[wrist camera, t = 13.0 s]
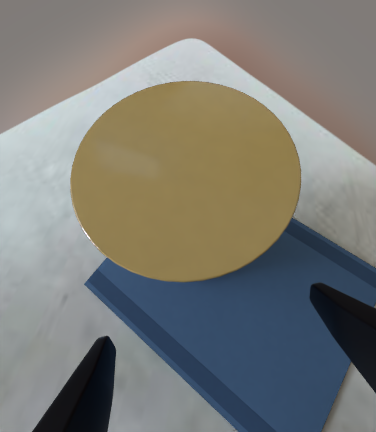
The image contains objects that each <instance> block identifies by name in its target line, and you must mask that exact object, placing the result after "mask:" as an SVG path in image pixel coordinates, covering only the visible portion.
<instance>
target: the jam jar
mask: <svg viewBox="0 0 376 432" xmlns="http://www.w3.org/2000/svg"><path fill="white" fill-rule="evenodd" d="M300 188H301V168H300V161H299V156H298V153H297V150H296V147H295V144H294V142H293V140H292V138H291V136H290V134H289V133H288V131H287V130H286V128H285V127H284V125H283V124H282V122H281V121H280V120H279V119H278V118H277V117H276V116H275V115H274V114H273V113H272V112H271V111H270V110H269V109H268V108H267V107H265V106H264V105H263V104H261V103H260V102H259V101H257V100H256V99H254V98H252V97H250V96H249V95H247V94H245V93H243V92H240V91H238V90H235V89H233V88H230V87H227V86H223V85H220V84H214V83H209V82H199V81H180V82H170V83H165V84H160V85H156V86H152V87H149V88H146V89H143V90H141V91H138V92H136V93H134V94H132V95H130V96H128V97H126V98H124V99H122V100H121V101H119V102H118V103H116V104H115V105H113V106H112V107H111V108H110V109H108V110H107V111H106V112H105V113H103V114H102V115H101V117H100V118H99V119H98V120H97V121H96V122H95V123H94V124H93V125H92V127H91V128H90V129H89V130H88V132H87V133H86V135H85V137H84V138H83V140H82V141H81V143H80V146H79V148H78V150H77V152H76V155H75V159H74V162H73V165H72V172H71V198H72V204H73V208H74V211H75V214H76V217H77V219H78V221H79V223H80V225H81V227H82V229H83V231H84V233H85V234H86V235H87V237H88V238H89V240H90V241H91V242H92V244H93V245H94V246H95V247H96V248H97V249H98V250H99V251H100V252H101V253H102V254H103V255H105V256H106V257H107V258H109V259H110V260H111V261H113V262H114V263H116V264H117V265H119V266H121V267H123V268H125V269H127V270H128V271H130V272H133V273H135V274H138V275H141V276H144V277H147V278H151V279H156V280H161V281H167V282H183V283H189V282H201V281H205V280H210V279H214V278H218V277H221V276H224V275H226V274H229V273H232V272H234V271H237V270H239V269H241V268H242V267H244V266H246V265H248V264H250V263H251V262H253V261H254V260H256V259H257V258H258V257H260V256H261V255H262V254H264V253H265V252H266V251H267V250H268V249H269V248H270V247H271V246H272V245H273V244H274V243H275V242H276V241H277V240H278V239H279V238H280V236H281V235H282V233H283V232H284V231H285V229H286V228H287V226H288V224H289V222H290V221H291V219H292V217H293V215H294V212H295V209H296V206H297V203H298V200H299V194H300Z"/></svg>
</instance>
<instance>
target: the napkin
mask: <svg viewBox="0 0 376 432" xmlns="http://www.w3.org/2000/svg"><path fill="white" fill-rule="evenodd" d="M318 282H321V283H324V284H326V285H328V286H330V287H332V288H334V289H336V290H338V291H340V292H343V293H345V294H347V295H349V296H351V297H353V298H355V299H357V300H359V301H361V302H363V303H365V304H367V305H369V306H371V307H373V308H374V306H375V304H376V268H375V267H373V266H371V265H370V264H368V263H366V262H365V261H363V260H361V259H360V258H358V257H356V256H355V255H353V254H352V253H350V252H348V251H347V250H345V249H343V248H342V247H340V246H338V245H337V244H335V243H333V242H332V241H330V240H328V239H327V238H325V237H323V236H322V235H320V234H318V233H317V232H315V231H314V230H312V229H310V228H309V227H307V226H305V225H304V224H302V223H300V222H299V221H297V220H295V219H294V218H292V219H291V221H290V222H289V224H288V226H287V228H286V229H285V231H284V232H283V233H282V235H281V236H280V238H279V239H278V240H277V241H276V242H275V243H274V244H273V245H272V246H271V247H270V248H269V249H268V250H267V251H266V252H265V253H264V254H262V255H261V256H260V257H258V258H257V259H256V260H254V261H253V262H251V263H250V264H248V265H246V266H244V267H242V268H241V269H239V270H237V271H234V272H232V273H229V274H226V275H224V276H221V277H218V278H214V279H210V280H205V281H201V282H189V283H183V282H167V281H161V280H156V279H151V278H147V277H144V276H141V275H138V274H135V273H133V272H130V271H128V270H127V269H125V268H123V267H121V266H119V265H117V264H116V263H114V262H113V261H111V260H110V259H109V258H106V259H105V261H104V262H103V263H102V264H101V265H100V266H99V268H98V269H97V270H96V271H95V272H94V273H93V274H92V276H91V277H90V278H89V279H88V280H87V281H86V283H85V284H84V285H86V286H87V287H88V288H89V289H90V290H91V291H92V292H93V293H94V294H95V295H96V296H97V297H98V298H99V299H100V300H101V301H102V302H103V303H104V304H105V305H106V306H108V307H109V308H110V309H111V310H112V311H113V312H114V313H115V314H116V315H117V316H118V317H119V318H120V319H121V320H122V321H123V322H124V323H125V324H126V325H127V326H128V327H130V328H131V329H132V330H133V331H134V332H135V333H136V334H137V335H138V336H139V337H140V338H141V339H142V340H143V341H144V342H145V343H146V344H147V345H148V346H149V347H150V348H152V349H153V350H154V351H155V352H156V353H157V354H158V355H159V356H160V357H161V358H162V359H163V360H164V361H165V362H166V363H167V364H168V365H169V366H170V367H171V368H172V369H174V370H175V371H176V372H177V373H178V374H179V375H180V376H181V377H182V378H183V379H184V380H185V381H186V382H187V383H188V384H189V385H190V386H191V387H192V388H193V389H194V390H196V391H197V392H198V393H199V394H200V395H201V396H202V397H203V398H204V399H205V400H206V401H207V402H208V403H209V404H210V405H211V406H212V407H213V408H214V409H215V410H216V411H218V412H219V413H220V414H221V415H222V416H223V417H224V418H225V419H226V420H227V421H228V422H229V423H230V424H231V425H232V426H233V427H234V428H235V429H236V430H237V431H238V432H321V431H322V429H323V426H324V424H325V422H326V419H327V417H328V414H329V412H330V410H331V407H332V405H333V403H334V400H335V398H336V396H337V393H338V391H339V389H340V386H341V384H342V382H343V379H344V377H345V374H346V372H347V370H348V367H349V365H350V363H351V360H350V359H349V358H348V356H347V355H346V354H345V352H344V351H343V350H342V348H341V347H340V346H339V344H338V343H337V342H336V340H335V339H334V338H333V336H332V335H331V333H330V332H329V330H328V328H327V327H326V325H325V324H324V322H323V321H322V319H321V317H320V316H319V314H318V313H317V311H316V310H315V308H314V306H313V305H312V303H311V301H310V298H309V295H310V286H311V285H312V284H314V283H318Z"/></svg>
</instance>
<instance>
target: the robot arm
mask: <svg viewBox="0 0 376 432" xmlns="http://www.w3.org/2000/svg"><path fill="white" fill-rule="evenodd" d="M309 298H310V301H311V303H312V305H313V306H314V308H315V310H316V311H317V313H318V314H319V316H320V317H321V319H322V321H323V322H324V324H325V325H326V327H327V328H328V330H329V332H330V333H331V335H332V336H333V338H334V339H335V340H336V342H337V343H338V344H339V346H340V347H341V348H342V350H343V351H344V352H345V354H346V355H347V356H348V358H349V359H350V360H351V361H352V363H353V364H354V365H355V367H356V368H357V369H358V371H359V372H360V373H361V375H362V376H363V377H364V378H365V380H366V381H367V382H368V384H369V385H370V386H371V388H372V389H373V390H374V392H375V393H376V308H373V307H371V306H369V305H367V304H365V303H363V302H361V301H359V300H357V299H355V298H353V297H351V296H349V295H347V294H345V293H343V292H340V291H338V290H336V289H334V288H332V287H330V286H328V285H326V284H324V283H321V282H318V283H314V284H312V285H311V286H310V295H309ZM115 359H116V349H115V346H114V344H113V342H112V341H111V339H110V337H109V336H104V337H100V338H98V339H97V340H96V341H95V343H94V344H93V346H92V347H91V349H90V350H89V351H88V353H87V354H86V356H85V357H84V359H83V360H82V361H81V363H80V364H79V366H78V367H77V369H76V370H75V371H74V373H73V374H72V376H71V377H70V378H69V380H68V381H67V383H66V384H65V386H64V387H63V388H62V390H61V391H60V393H59V394H58V396H57V397H56V398H55V400H54V401H53V403H52V404H51V406H50V407H49V408H48V410H47V411H46V413H45V414H44V416H43V417H42V418H41V420H40V421H39V423H38V424H37V426H36V427H35V428H34V430H33V431H32V432H108V425H109V419H110V412H111V406H112V399H113V389H114V374H115Z"/></svg>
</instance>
